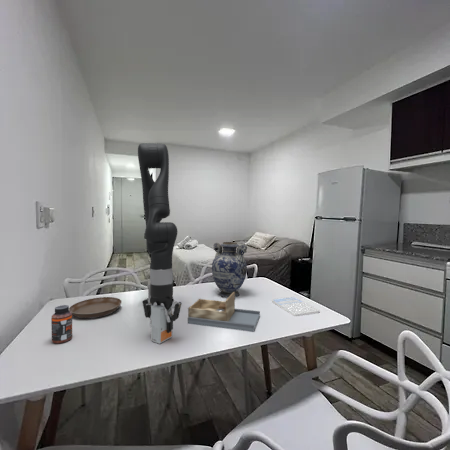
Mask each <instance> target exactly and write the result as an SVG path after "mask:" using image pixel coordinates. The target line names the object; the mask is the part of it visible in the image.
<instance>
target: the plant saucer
mask: <svg viewBox="0 0 450 450" xmlns="http://www.w3.org/2000/svg"><path fill="white" fill-rule="evenodd" d="M121 305H122V299H120V298H118V297H114V296H103V297H101V296H100V297H93V298H88V299H84V300H81V301H78V302H76V303H74V304H72V305H70V306H69V311H70V312H71V313H72V316H74V317H75V318H79V319H96V318H102V317H105V316H108V315H110V314H113V313H114V312H115V311H117V310H118V309H119V308H120V306H121Z"/></svg>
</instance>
